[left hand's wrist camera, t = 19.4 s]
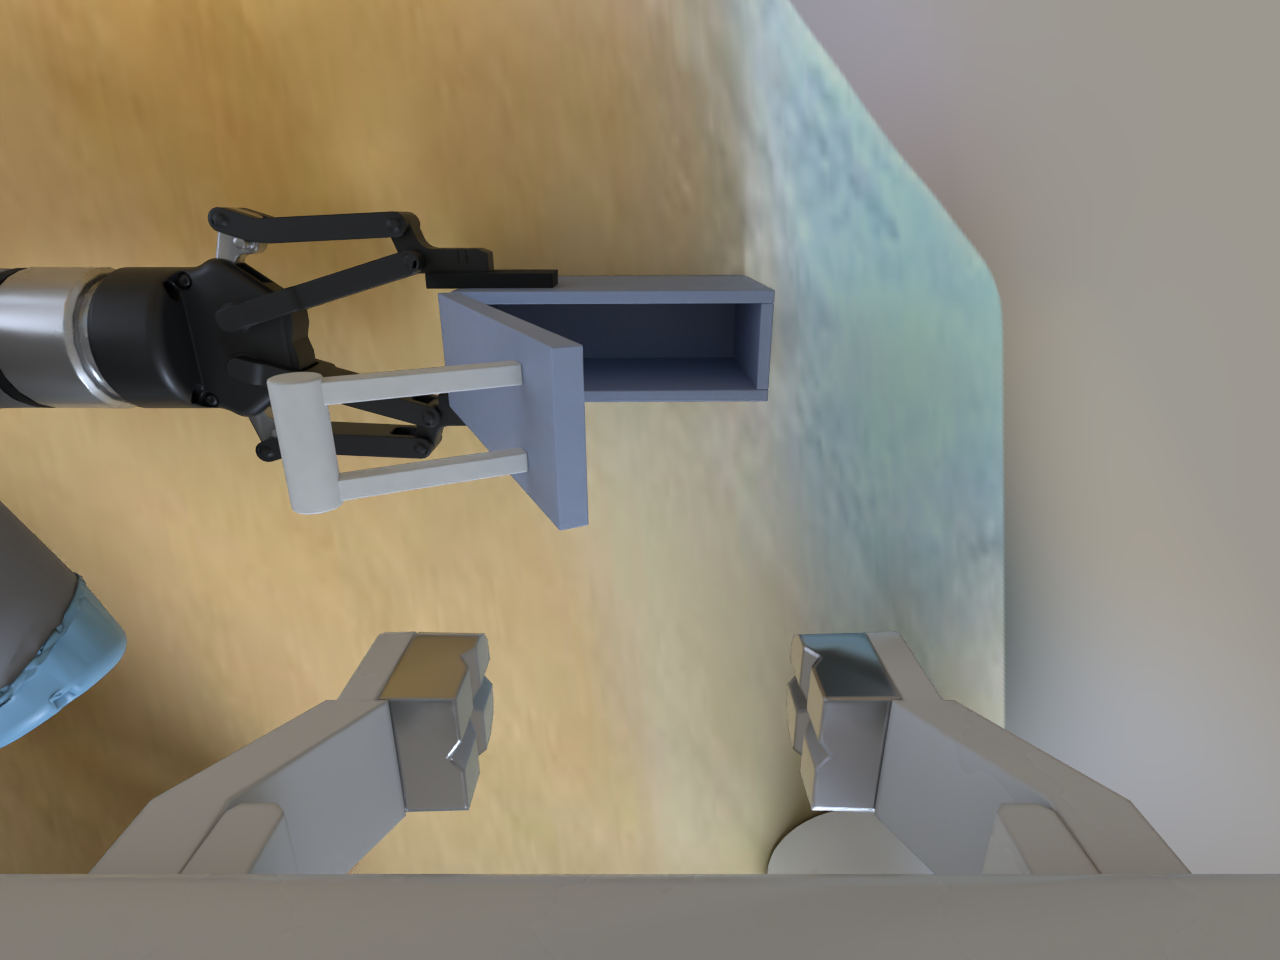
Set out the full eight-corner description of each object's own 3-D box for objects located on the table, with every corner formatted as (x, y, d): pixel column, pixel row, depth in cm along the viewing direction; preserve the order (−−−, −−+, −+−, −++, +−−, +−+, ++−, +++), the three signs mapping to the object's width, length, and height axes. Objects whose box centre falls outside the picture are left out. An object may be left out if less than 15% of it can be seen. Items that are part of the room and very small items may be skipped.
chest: (745, 275, 43) (775, 290, 34) (741, 364, 45) (768, 401, 36) (488, 276, 43) (450, 291, 34) (495, 366, 45) (461, 403, 36)
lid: (583, 344, 20) (256, 371, 16) (589, 525, 22) (299, 583, 18) (457, 292, 34) (269, 301, 30) (468, 404, 36) (292, 424, 32)
